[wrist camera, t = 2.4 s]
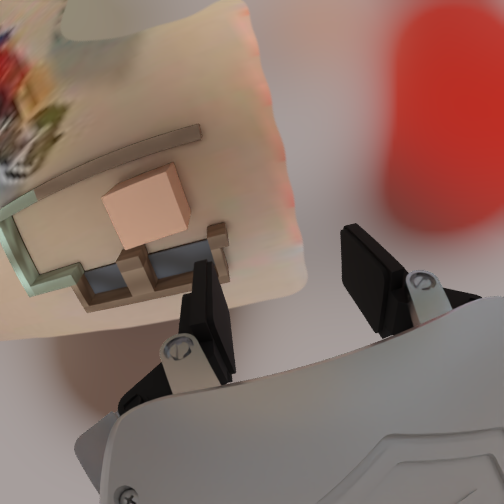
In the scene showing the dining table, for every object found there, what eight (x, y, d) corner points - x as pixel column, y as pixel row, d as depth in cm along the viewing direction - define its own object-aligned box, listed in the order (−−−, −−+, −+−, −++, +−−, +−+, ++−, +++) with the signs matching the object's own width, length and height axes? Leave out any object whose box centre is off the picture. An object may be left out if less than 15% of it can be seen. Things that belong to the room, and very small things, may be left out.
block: (117, 184, 27) (101, 197, 23) (173, 162, 27) (165, 171, 23) (136, 230, 30) (125, 250, 26) (191, 211, 30) (187, 229, 26)
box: (1, 208, 25) (-11, 216, 23) (199, 123, 26) (197, 124, 23) (52, 308, 34) (44, 321, 31) (236, 266, 34) (238, 279, 32)
